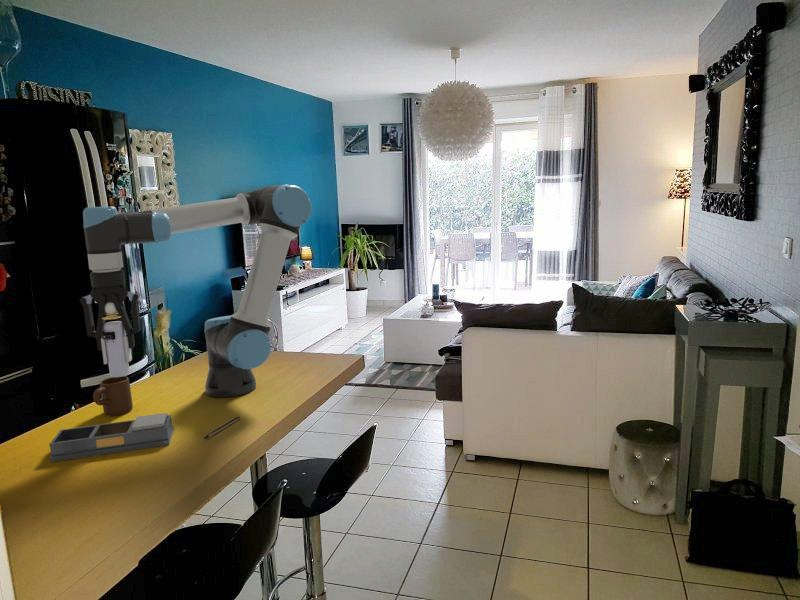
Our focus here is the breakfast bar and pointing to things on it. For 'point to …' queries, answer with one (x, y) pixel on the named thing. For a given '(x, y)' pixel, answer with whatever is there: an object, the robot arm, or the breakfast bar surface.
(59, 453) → the rack
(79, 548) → the breakfast bar surface
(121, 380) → the mug
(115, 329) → the perfume bottle
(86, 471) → the breakfast bar surface
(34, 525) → the breakfast bar surface
